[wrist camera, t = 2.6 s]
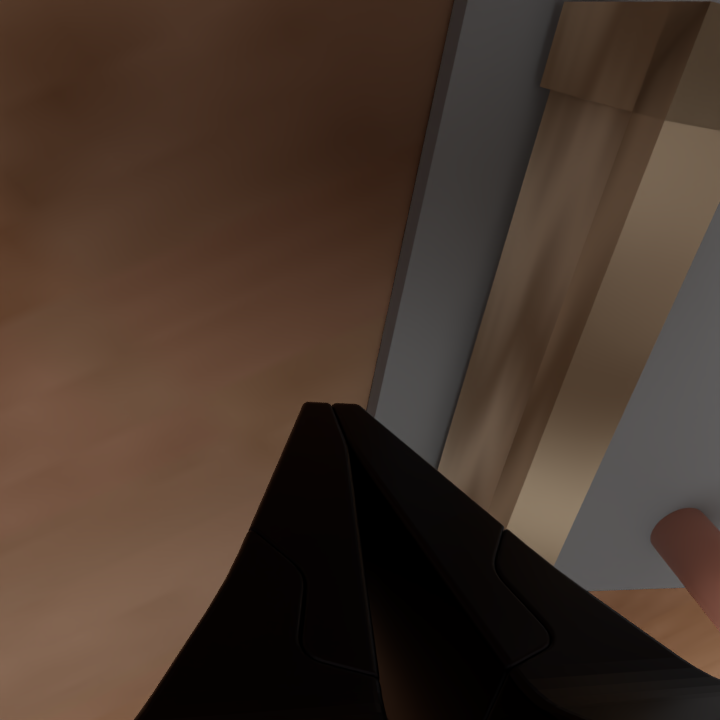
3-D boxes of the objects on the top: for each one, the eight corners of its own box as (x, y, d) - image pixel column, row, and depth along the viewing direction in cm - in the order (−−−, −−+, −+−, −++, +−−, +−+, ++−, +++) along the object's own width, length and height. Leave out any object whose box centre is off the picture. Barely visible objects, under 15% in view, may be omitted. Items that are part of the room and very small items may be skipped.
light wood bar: (461, 520, 22) (517, 645, 18) (414, 521, 21) (459, 649, 17) (631, 17, 14) (801, 23, 10) (564, 1, 14) (710, 0, 10)
